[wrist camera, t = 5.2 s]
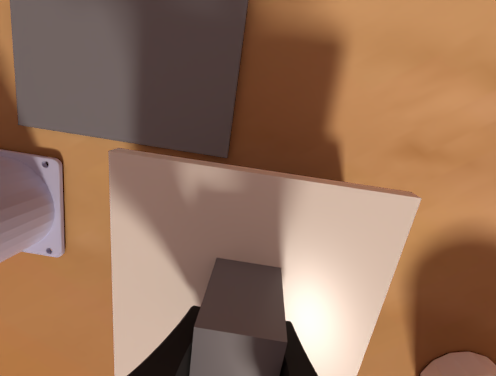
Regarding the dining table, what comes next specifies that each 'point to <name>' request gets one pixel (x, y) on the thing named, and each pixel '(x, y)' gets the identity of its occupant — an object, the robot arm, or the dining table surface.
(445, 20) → the dining table surface
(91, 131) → the mat
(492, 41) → the dining table surface
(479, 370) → the white cup
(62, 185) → the robot arm
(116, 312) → the lid
